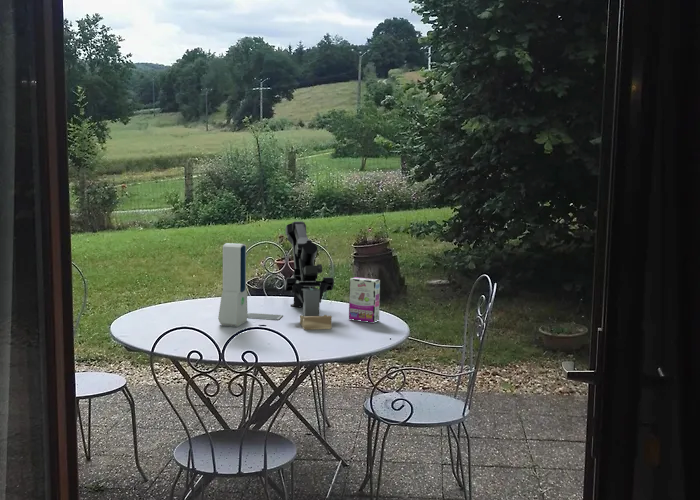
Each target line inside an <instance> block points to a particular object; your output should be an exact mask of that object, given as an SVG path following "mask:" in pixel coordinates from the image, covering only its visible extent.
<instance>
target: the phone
mask: <svg viewBox="0 0 700 500" xmlns="http://www.w3.org/2000/svg"><path fill="white" fill-rule="evenodd" d="M283 317H284V315H283V314H269V313H255V312H248V317H247V319H253V320H267V321H269V320H270V321H279V320H280V319H281V318H283Z"/></svg>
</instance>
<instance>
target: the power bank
mask: <svg viewBox="0 0 700 500" xmlns="http://www.w3.org/2000/svg"><path fill="white" fill-rule="evenodd" d="M303 298H304V303H303V308H302V315H303V316H320V308H321V307H320V306H321V305H320V304H321V303H320V290H319V287H312V288H303Z"/></svg>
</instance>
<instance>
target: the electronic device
mask: <svg viewBox="0 0 700 500" xmlns="http://www.w3.org/2000/svg"><path fill="white" fill-rule="evenodd" d="M248 313H249V312H248V290H247V245H246V244H245V243H232V242H230V243H229V242H227V243H224V244H223V245H222V293H221V296H220V305H219V309H218V316H217V317H218V322H219V324H220V326H222V327H233V328H238V327H239V326H241V325H243V324H244V323H246V322H247V321H248V318H247V317H248Z"/></svg>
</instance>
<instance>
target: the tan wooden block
mask: <svg viewBox="0 0 700 500" xmlns="http://www.w3.org/2000/svg"><path fill="white" fill-rule="evenodd" d="M299 316H300V317H299V324H300V325H301V327H302V328H303V330H304V331H306V330H307V331H308V330H311V331H312V330H331V329H332V319H333V317H332V316H331V315H327V314H323V315H319V316H303V314H301V315H299Z"/></svg>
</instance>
